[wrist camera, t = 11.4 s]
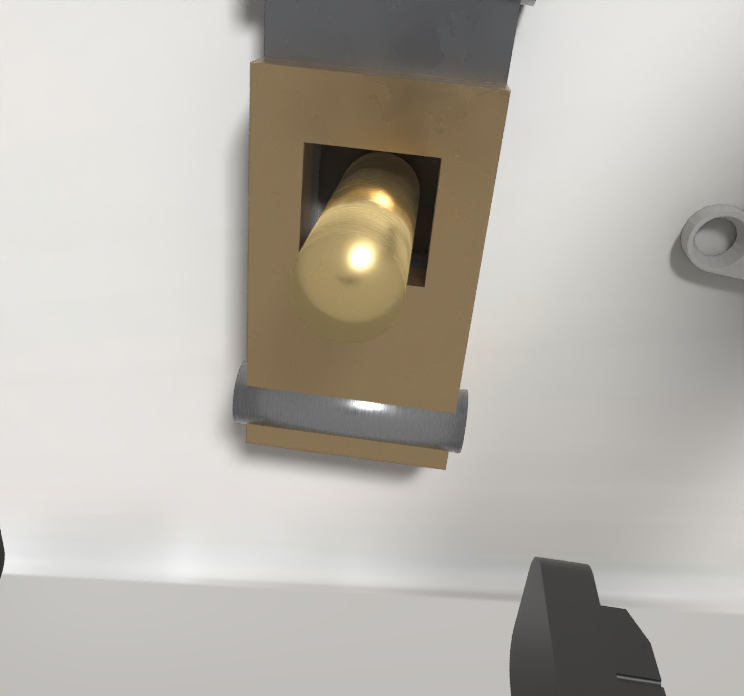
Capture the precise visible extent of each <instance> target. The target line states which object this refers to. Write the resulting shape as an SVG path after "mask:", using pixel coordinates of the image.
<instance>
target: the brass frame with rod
mask: <svg viewBox="0 0 744 696" xmlns="http://www.w3.org/2000/svg"><path fill="white" fill-rule="evenodd" d="M535 1H536V0H265V38H264V57H263V58H260V59H258V60H255V61H252V62H250V137H249V228H248V319H247V361H244V362H243V363H242V365H241V367H240V369H239V372H238V375H237V379H236V384H235V389H234V396H233V418H234V421H235V422H236V423H241V424H246V443H253V444H260V445H267V446H275V447H282V448H289V449H296V450H304V451H311V452H318V453H326V454H333V455H340V456H347V457H355V458H362V459H369V460H377V461H384V462H391V463H399V464H406V465H413V466H420V467H428V468H435V469H442V470H446V464H447V458H448V452H455V453H460V452H461V449H462V445H463V440H464V434H465V427H466V419H467V408H468V390H463V389H459V388H460V382H461V377H462V371H463V365H464V359H465V353H466V347H467V342H468V336H469V330H470V324H471V318H472V313H473V307H474V301H475V295H476V289H477V283H478V278H479V272H480V266H481V260H482V254H483V249H484V243H485V237H486V231H487V225H488V220H489V214H490V208H491V202H492V196H493V190H494V185H495V179H496V173H497V167H498V161H499V156H500V150H501V144H502V138H503V132H504V127H505V121H506V115H507V109H508V103H509V97H510V92H511V90H510V89H509V87H508V85H507V79H508V74H509V68H510V62H511V56H512V50H513V44H514V38H515V32H516V26H517V20H518V14H519V8H520V5H530V6H533V5H534V4H535ZM321 144H324V145H333V146H341V147H350V148H359V149H367V150H376V151H385V152H394V153H402V154H411V155H420V156H428V157H437V158H441V160H440V167H439V174H438V182H437V189H436V197H435V204H434V212H433V219H432V227H431V234H430V241H429V249H428V253H421V252H413V251H412V253H411V260H410V266H409V273H408V279H407V286H406V293H405V299H404V304H403V307H402V310H401V313H400V315H399V316H398V318H397V320H396V321H395V322H394V324H393V325H392V326H391V327H390V328H389V329H388V330H387V331H385V332H384V333H383V334H381V335H379V336H378V337H376V338H374V339H371V340H368V341H365V342H360V343H340V342H334V341H331V340H328V339H326V338H323V337H321V336H319V335H318V334H316V333H314V332H313V331H311V330H310V329H309V328H308V327H307V326H306V325H305V324H304V323H303V322H302V321H301V320H300V319H299V317H298V316H297V314H296V313H295V311H294V309H293V307H292V305H291V301H290V298H289V293H288V278H289V273H290V269H291V267H292V264H293V262H294V261H295V259H296V257H297V255H298V254H299V252H300V250H301V248H302V247H303V245H304V243H305V241H306V240H307V238H308V236H309V234H310V233H311V231H312V229H313V228H314V226H315V224H316V222H317V208H318V191H319V173H320V156H321Z"/></svg>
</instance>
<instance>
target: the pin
mask: <svg viewBox="0 0 744 696" xmlns="http://www.w3.org/2000/svg"><path fill="white" fill-rule="evenodd" d="M419 200H420V185H419V181H418V178H417V176H416V174H415V172H414V170H413V169H412V167H411V166H410V165H409V164H408V163H407V162H406V161H404V160H403V159H401V158H400V157H398V156H396V155H394V154H390V153H386V152H373V153H369V154H366V155H363V156H361V157H359V158H358V159H357V160H355V161H354V162H353V163H352V164H351V165H350V166H349V167H348V169H347V170H346V172H345V174H344V175H343V177H342V179H341V181H340V182H339V184H338V186H337V188H336V189H335V191H334V193H333V195H332V196H331V198H330V200H329V201H328V203H327V205H326V207H325V208H324V210H323V212H322V214H321V215H320V217H319V219H318V221H317V222H316V224H315V226H314V228H313V229H312V231H311V233H310V234H309V236H308V238H307V240H306V241H305V243H304V245H303V247H302V248H301V250H300V252H299V254H298V255H297V257H296V259H295V261H294V262H293V264H292V267H291V269H290V273H289V278H288V293H289V298H290V301H291V305H292V307H293V309H294V311H295V313H296V314H297V316H298V317H299V319H300V320H301V321H302V322H303V323H304V324H305V325H306V326H307V327H308V328H309V329H310V330H311V331H313V332H314V333H316V334H318V335H319V336H321V337H323V338H326V339H328V340H331V341H334V342H340V343H360V342H365V341H368V340H371V339H374V338H376V337H378V336H379V335H381V334H383V333H384V332H385V331H387V330H388V329H389V328H390V327H391V326H392V325H393V324H394V322H395V321H396V320H397V318H398V316H399V315H400V313H401V310H402V307H403V304H404V299H405V293H406V286H407V279H408V273H409V266H410V260H411V253H412V246H413V240H414V233H415V226H416V220H417V213H418V206H419Z"/></svg>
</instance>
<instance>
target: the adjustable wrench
mask: <svg viewBox="0 0 744 696" xmlns="http://www.w3.org/2000/svg"><path fill="white" fill-rule="evenodd" d="M714 218H725V219H727V220H730V221H731V222H732V223H733V224H734V225H735V227H736V230H737V237H736V240H735V242H734V243H733V245H732V246H731V247H730V248H729V249H728V250H727V251H726V252H724V253H722V254H720V255H716V256H707V255H704V254H702V253H701V252H699V251H698V250H697V248H696V246H695V240H694V238H695V234H696V233H697V231H698V230H699V228H700V227H702V226H703V225H704V224H705V223H706V222H708V221H710V220H712V219H714ZM681 247H682V249H683V251H684V253H685V255H686V256H687V257H688V258H689V259H690V261H691V262H692V263H693V264H694V265H696V266H697V267H698V268H699V269H702V270H704V271H707V272H710V273H715V274H719V275H724V276H728V277H732V278H737V279H741V280H744V210H743V209H740V208H736V207H732V206H728V205H712V206H708V207H705V208H703V209H701V210H699V211H697V212H696V213H695V214H694V215H692V216H691V217H690V218H689V219H688V221H687V222H686V224H685V226H684V227H683V230H682V234H681Z"/></svg>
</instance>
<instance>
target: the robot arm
mask: <svg viewBox="0 0 744 696" xmlns="http://www.w3.org/2000/svg"><path fill="white" fill-rule="evenodd" d="M4 559H5V552H4V546H3V541H2V536H1V531H0V577H1V574H2V571H3V566H4ZM510 687H511V696H666V694H665V691H664V688H663V687H661V677H660V674H659V671H658V667H657V664H656V660H655V657H654V654H653V650H652V647H651V643H650V642H649V640H648V639H647V638H646V636H645V635H644V634H643V632H642V631H641V629H640V628H639V627H638V625H637V624H636V623H635V621H634V620H633V619H632V617H631V616H630V615H629V613H628V612H627V610H626V609H621V608H614V607H607V606H601V605H600V602H599V598H598V594H597V589H596V585H595V581H594V576H593V573H592V570H591V568H590V566H589V565H587V564H581V563H575V562H568V561H561V560H554V559H547V558H540V557H535V558H534V559H533V561H532V563H531V566H530V570H529V573H528V577H527V581H526V585H525V588H524V592H523V596H522V600H521V603H520V607H519V611H518V615H517V618H516V622H515V626H514V630H513V635H512V642H511V649H510Z"/></svg>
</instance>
